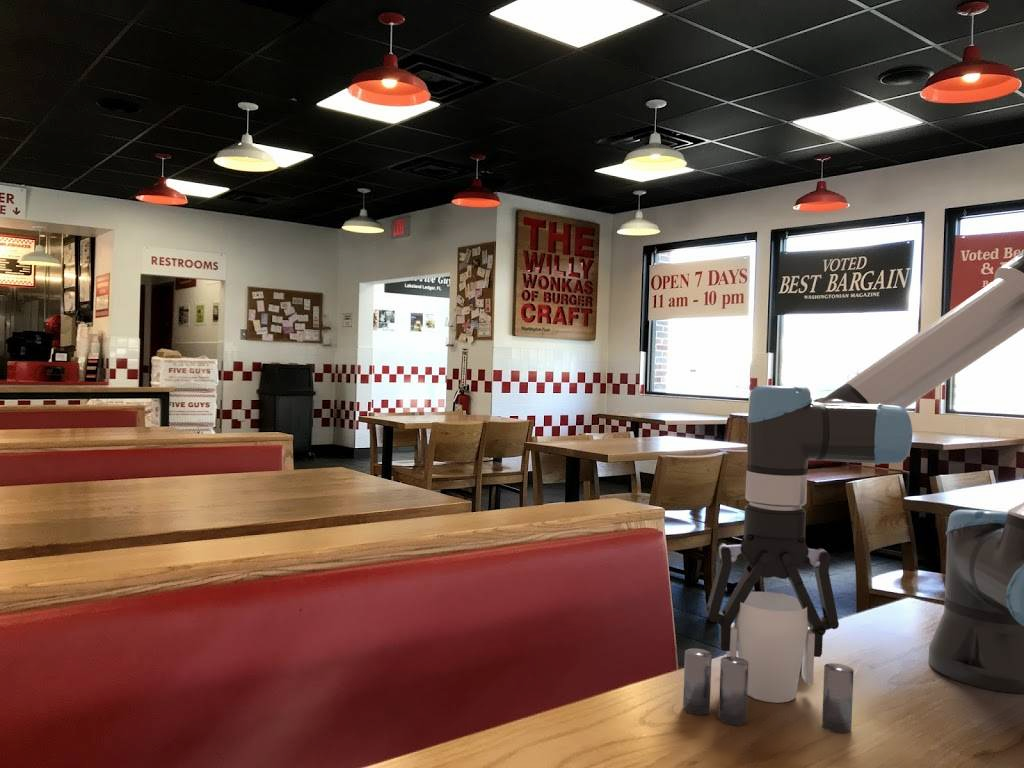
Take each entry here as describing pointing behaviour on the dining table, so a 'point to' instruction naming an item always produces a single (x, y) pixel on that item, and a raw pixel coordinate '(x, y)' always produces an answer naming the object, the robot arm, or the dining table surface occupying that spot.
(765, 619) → the cup
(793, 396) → the robot arm
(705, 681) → the posts
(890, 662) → the dining table surface
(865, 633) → the dining table surface
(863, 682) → the dining table surface
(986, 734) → the dining table surface
